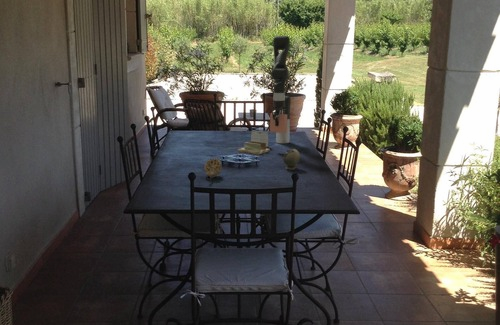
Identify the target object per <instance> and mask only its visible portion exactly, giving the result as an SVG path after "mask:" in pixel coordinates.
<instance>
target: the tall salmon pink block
mask: <svg viewBox="0 0 500 325" xmlns="http://www.w3.org/2000/svg"><path fill="white" fill-rule="evenodd" d="M269 114H270V115H269V132H270V133H275V134H276V133H287V115H286V114H280V117H279V120H278V121H279V126H275V120H273V115H272V112H271V113H269ZM277 116H278V115H277Z"/></svg>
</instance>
